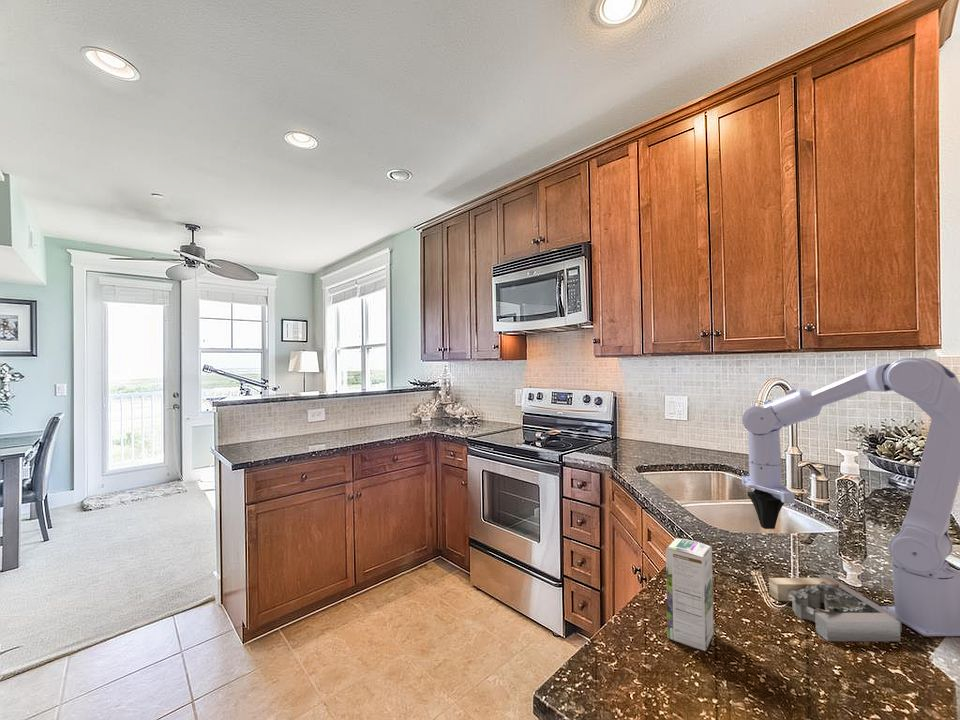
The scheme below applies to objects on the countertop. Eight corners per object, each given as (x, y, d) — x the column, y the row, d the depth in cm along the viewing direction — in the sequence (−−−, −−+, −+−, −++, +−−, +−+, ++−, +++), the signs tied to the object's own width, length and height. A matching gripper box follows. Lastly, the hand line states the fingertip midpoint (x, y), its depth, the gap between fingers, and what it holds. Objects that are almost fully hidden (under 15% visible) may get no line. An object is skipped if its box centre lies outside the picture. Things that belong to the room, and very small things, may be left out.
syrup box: (676, 622, 73) (673, 536, 73) (715, 635, 69) (712, 544, 70) (667, 639, 68) (663, 547, 69) (708, 653, 65) (704, 556, 65)
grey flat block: (827, 584, 84) (826, 569, 84) (917, 641, 66) (916, 621, 66) (757, 584, 85) (756, 569, 85) (827, 641, 67) (826, 621, 67)
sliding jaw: (829, 593, 81) (828, 577, 81) (839, 600, 78) (838, 584, 78) (769, 593, 81) (768, 577, 81) (778, 600, 79) (777, 584, 79)
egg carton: (830, 635, 69) (828, 609, 69) (783, 611, 76) (782, 588, 76) (873, 621, 72) (871, 596, 72) (824, 599, 79) (823, 577, 79)
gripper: (727, 456, 98) (729, 516, 97) (767, 470, 83) (770, 541, 83) (758, 456, 98) (761, 516, 97) (804, 470, 83) (807, 541, 83)
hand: (767, 527), depth 90 cm, fingers closed
